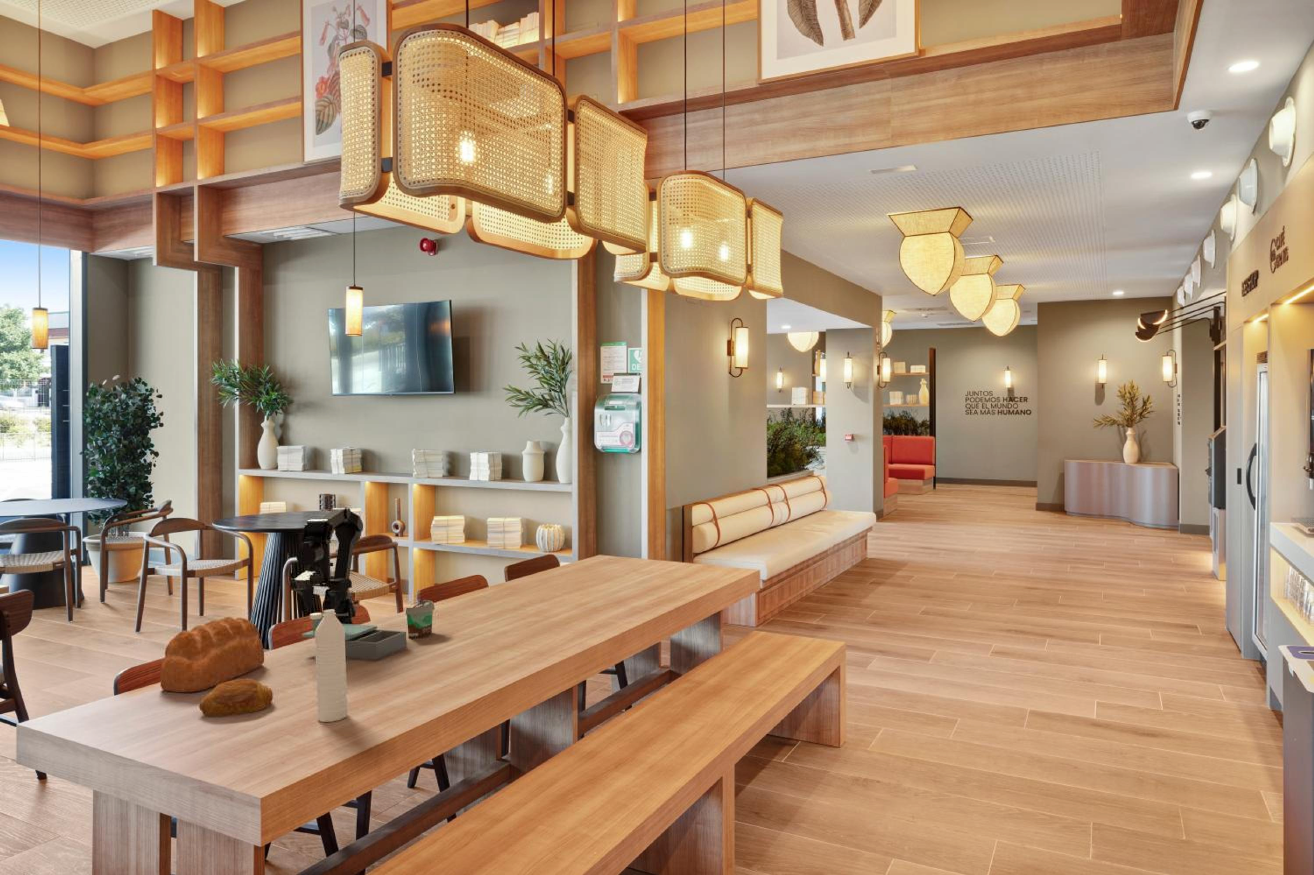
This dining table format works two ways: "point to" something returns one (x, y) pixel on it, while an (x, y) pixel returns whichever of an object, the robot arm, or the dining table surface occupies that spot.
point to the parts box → (375, 645)
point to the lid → (350, 629)
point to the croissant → (236, 698)
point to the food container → (420, 620)
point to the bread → (211, 655)
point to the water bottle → (330, 667)
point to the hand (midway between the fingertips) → (321, 611)
